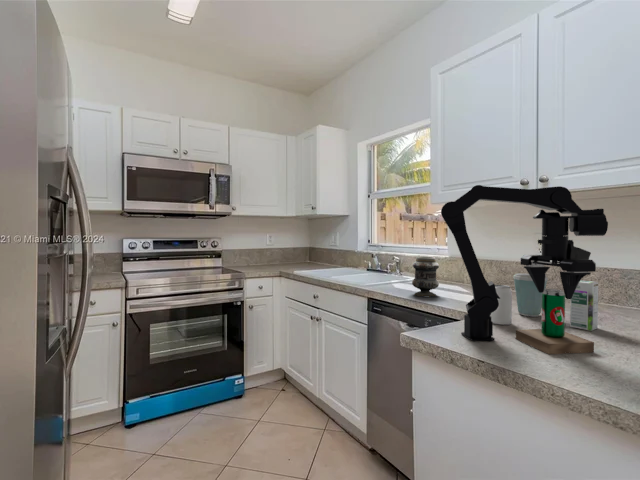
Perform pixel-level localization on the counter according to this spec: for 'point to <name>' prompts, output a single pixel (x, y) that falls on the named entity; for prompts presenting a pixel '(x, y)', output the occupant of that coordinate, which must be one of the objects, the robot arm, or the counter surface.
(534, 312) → the disposable coffee cup
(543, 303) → the soda can
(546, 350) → the walnut base
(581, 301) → the syrup box
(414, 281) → the apothecary jar
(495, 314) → the can
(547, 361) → the counter surface
